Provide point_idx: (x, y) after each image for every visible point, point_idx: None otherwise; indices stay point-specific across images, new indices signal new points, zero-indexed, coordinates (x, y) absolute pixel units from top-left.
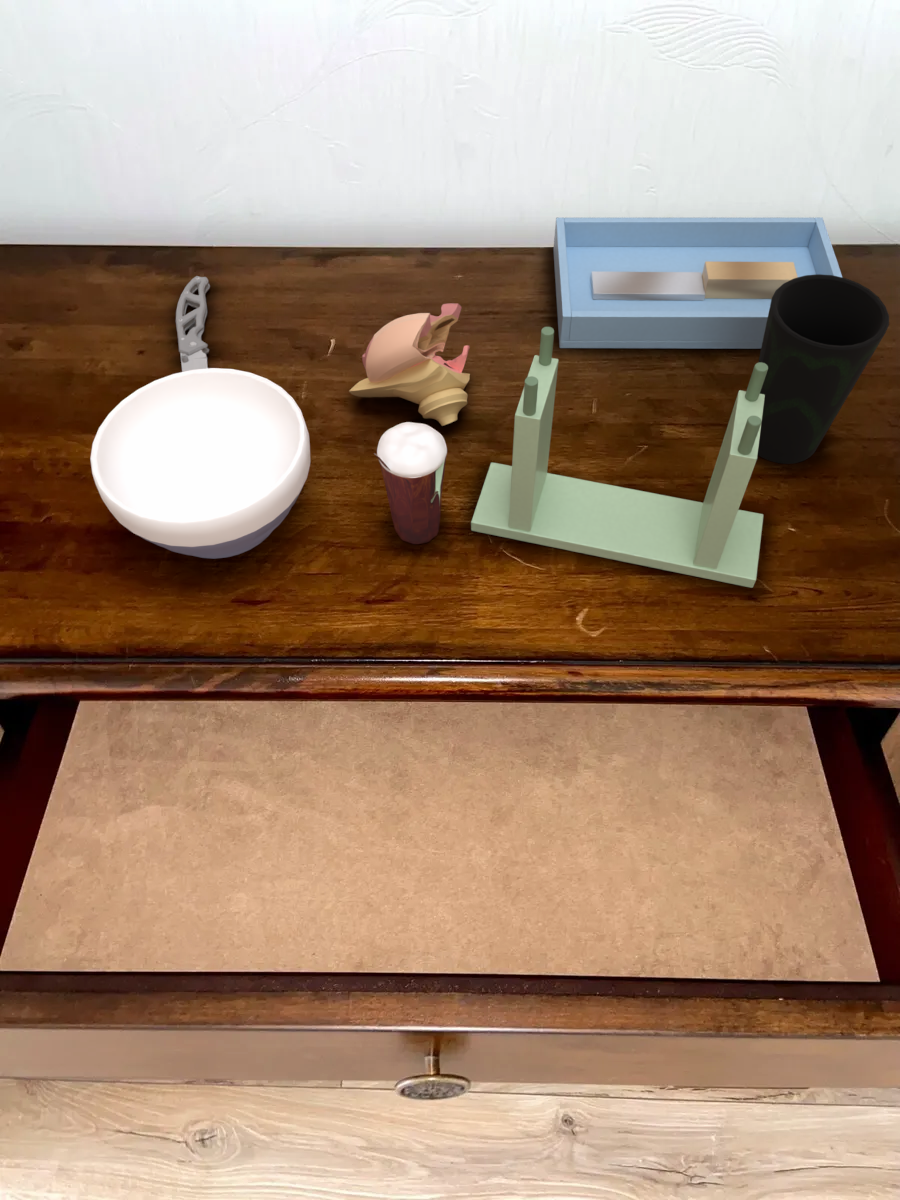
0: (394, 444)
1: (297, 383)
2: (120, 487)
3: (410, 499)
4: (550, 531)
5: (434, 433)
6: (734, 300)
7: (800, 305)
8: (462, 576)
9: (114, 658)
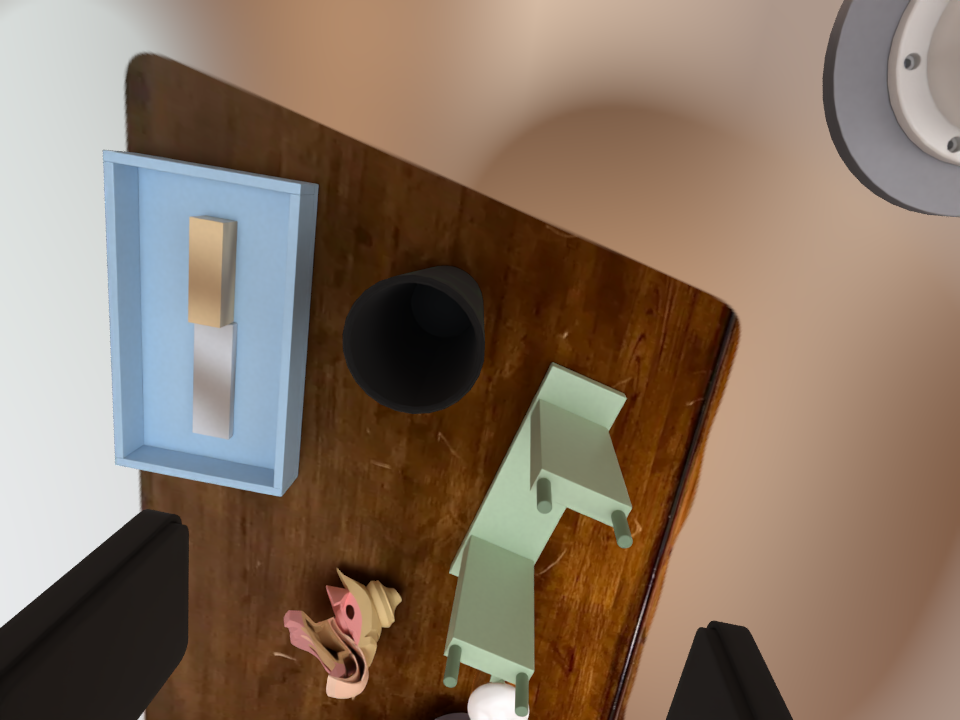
0: None
1: None
2: None
3: None
4: (536, 546)
5: (492, 702)
6: (238, 289)
7: (364, 340)
8: (560, 606)
9: None
